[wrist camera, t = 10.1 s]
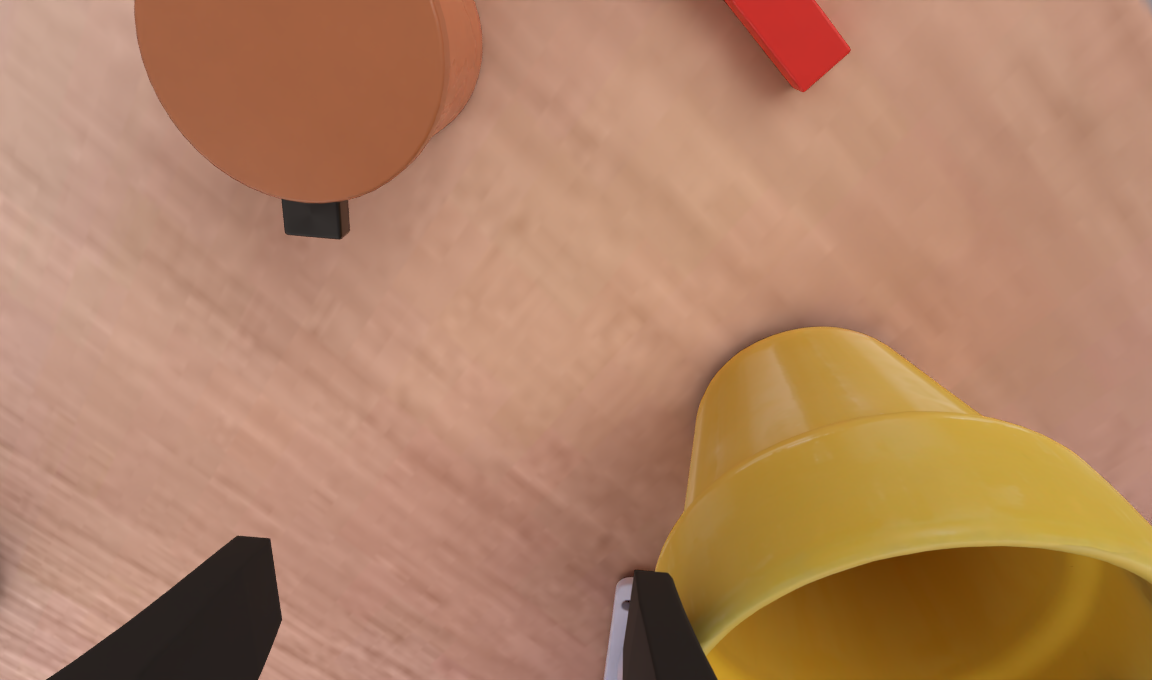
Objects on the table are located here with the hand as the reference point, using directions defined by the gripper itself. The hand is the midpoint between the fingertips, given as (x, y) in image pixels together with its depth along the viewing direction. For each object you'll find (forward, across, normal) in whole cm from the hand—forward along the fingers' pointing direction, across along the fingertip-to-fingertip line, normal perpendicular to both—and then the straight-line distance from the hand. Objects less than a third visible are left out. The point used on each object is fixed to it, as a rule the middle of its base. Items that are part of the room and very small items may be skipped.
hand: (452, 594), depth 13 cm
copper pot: (+10, +4, -9) cm, 13 cm away
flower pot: (+9, -9, +1) cm, 13 cm away
